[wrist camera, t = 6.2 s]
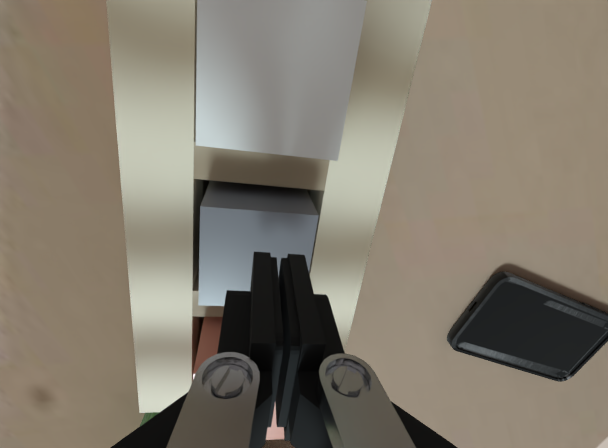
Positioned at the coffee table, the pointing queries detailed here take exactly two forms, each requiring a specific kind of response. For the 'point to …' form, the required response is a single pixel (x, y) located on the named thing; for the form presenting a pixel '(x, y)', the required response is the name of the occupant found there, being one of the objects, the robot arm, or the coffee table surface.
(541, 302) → the phone
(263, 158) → the wooden compartment tray
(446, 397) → the coffee table surface
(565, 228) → the coffee table surface
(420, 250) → the coffee table surface
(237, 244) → the grey rectangular block
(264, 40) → the white key
